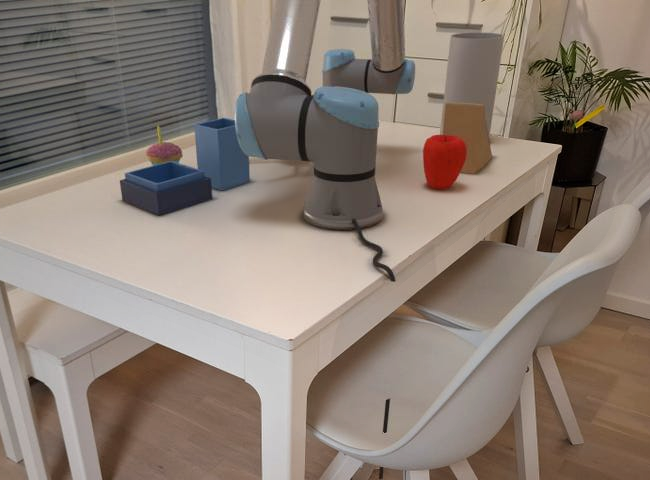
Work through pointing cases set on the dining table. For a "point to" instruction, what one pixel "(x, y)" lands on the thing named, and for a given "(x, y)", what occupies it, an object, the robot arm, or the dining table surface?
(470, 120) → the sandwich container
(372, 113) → the robot arm
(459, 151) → the apple
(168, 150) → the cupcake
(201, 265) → the dining table surface
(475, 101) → the cylinder vase
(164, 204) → the bin stack
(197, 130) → the lone bin
